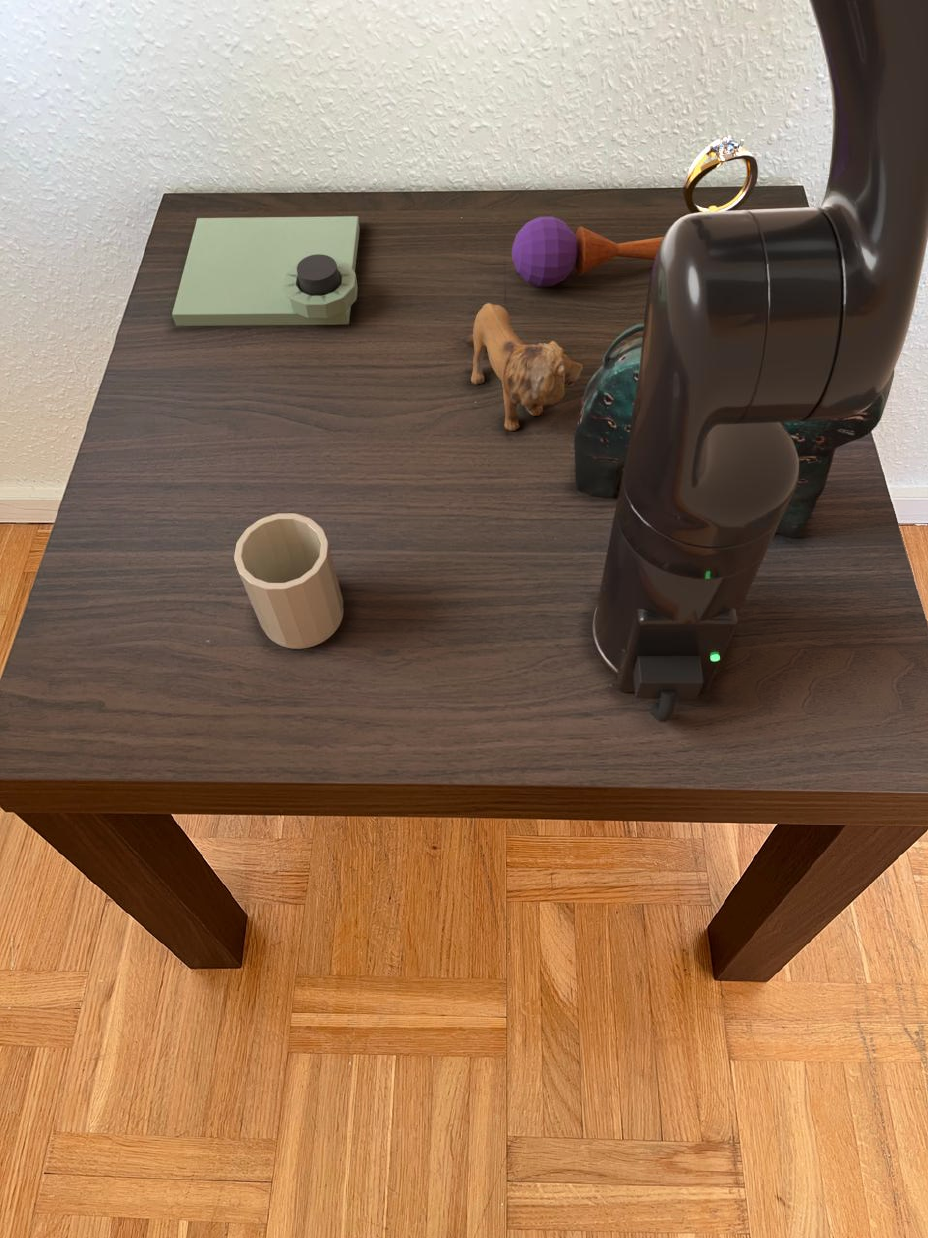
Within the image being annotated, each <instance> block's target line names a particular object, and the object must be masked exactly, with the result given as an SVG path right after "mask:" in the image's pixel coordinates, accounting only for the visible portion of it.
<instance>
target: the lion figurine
mask: <svg viewBox="0 0 928 1238" xmlns="http://www.w3.org/2000/svg"><path fill="white" fill-rule="evenodd" d="M474 319H475V320H474V322H473V328H472V334H471V335H466V336H463V337H461V338H460V341H461V342H462V343H463V344H464V345H469V344H472V343H473V350H474V355H473V358H472V362H473V364H472V373H471V377H470V381H471V383H472V384H473V385H476V386H478V385H480V384H484V383H485V375H484V372H483V355H484V353H485V351H486V350H487V356H488V359H489V363H490V365H491V368H492V370H493V371H494V373H495V375H496V377H498V379H499V380H500V381H501V385H502V394H503V403H504V413H505V414H504V415H505V417H504V428H505V429H506V430H507V431H510V432H515V431H517V430H518V429H519V428H520V423H519V415H518V413H517V406H518V404H519V405H522V406H523V407H525V410H526V411H527V412H528V413H529V414H530V415H531V416H534V417H537V416H540V415H541V414H542V413H543V411H544V409H543V408H544V406H546V405H554V404H556V403H559V402H560V400H562V398H563V397H564V396H565V394H566V392H565V387H566V386H567V387H572V386H573V385H574V384H575V382H576V381H577V380H579V378H580V376H581V372H582V371H583V370H584V369H583V367H584V366H583V365H582V364H581V363H580V362H575V361H573V360H571V359H570V357H569V356H568V355H566V354H565V353H564V349H563V348H562V346H560V345H558V342H557V341H555V340H552V341H550V342H549V343H543V342H542V343H540V342H538V344H534V343H532V344H526V343H523V341H522V340H521V339H520V337H518V335H517V334H516V333H515V332H514V330H513V329H512V326H511V325H512V324H511V317H510V314H509V312H508V311H507V309H505V308H504V307H503V306H502V305H500V304H493V303H490V302H488V303H485V304H483V306H482V308H481V309H480V310H479V311H478V313H477V314H476V316H475V318H474Z"/></svg>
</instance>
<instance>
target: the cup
mask: <svg viewBox="0 0 928 1238" xmlns="http://www.w3.org/2000/svg"><path fill="white" fill-rule="evenodd" d="M233 555H234V556H233V559H234V563H235V565H236V569H237V572H238V574H239V577H240V579H241V581H242V584H243V586H244V589H245V592H246V594H247V596H248V599H249V601H250V603H251V605H252V608H253V610H254V613H255V615H256V618H257V620H258V622H259V625H260V627H261V629H262V630H263V633H264V634H265V635H266V636H267V638H268V639H270V641H272V642H273V643H275V644H277V645H279V646H281V647H284V648H289V649H295V650H300V649H301V650H302V649H308V648H312V647H315V646H317V645H320V644H322V643H324V642H326V641H327V640H328V639H329V638H331V637H332V636H333V635H334V634H335V632H336V631H337V630H338V628H339V627H340V625H341V623H342V620H343V617H344V610H345V608H344V599H343V595H342V591H341V587H340V584H339V579H338V576H337V572H336V567H335V563H334V559H333V556H332V552H331V547H330V544H329V541H328V538H327V536H326V533H325V531H324V529H323V528H322V527H321V526H320V525H319V524H318V523H317V522H315V521H314V520H313V519H312V518H310V517H307V516H304V515H301V514H300V513H299V514H298V513H285V512H284V513H274V514H272V515H268V516H265V517H263V518H260V519H258V520H257V521H256V522H254V523H252V524H251V525H249V526H248V527H247V528H246V529H245V530H244V532H242V534H241V536H240V537H239V539H238V540H237V542H236V545H235V550H234V554H233Z"/></svg>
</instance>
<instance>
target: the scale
mask: <svg viewBox="0 0 928 1238" xmlns="http://www.w3.org/2000/svg"><path fill="white" fill-rule="evenodd" d="M360 229H361V227H360V219H359V216H358V215H357V216H356V215H355V216H353V215H352V216H351V215H350V216H347V215H345V216H343V215H342V216H278V217H277V216H272V217H271V216H270V217H268V216H265V217H263V216H261V217H197V218H196V222H195V226H194V230H193V233H192V237H191V240H190V245H189V249H188V252H187V256H186V260H185V263H184V268H183V271H182V275H181V279H180V283H179V287H178V291H177V294H176V298H175V302H174V305H173V309H172V313H171V315H172V318H173V321H174V324H175V326H176V327H190V326H191V327H193V326H196V327H199V326H200V327H202V326H205V327H207V326H208V327H209V326H211V327H212V326H311V325H312V326H313V325H314V326H317V325H318V326H319V325H321V326H323V325H324V326H325V325H327V326H328V325H330V326H331V325H333V326H334V325H349V323H350V316H351V308H352V305H353V304H354V303H355V302H356V301H357V298H358V288H359V287H358V281H357V274H356V265H357V257H358V256H357V255H358V248H359V239H360V232H361V231H360ZM316 254H322V255H327V256H330V257H331V258H333V259H334V260H335V262H336V264H337V269H338V275H339V286H338V287H337V289H336V290H335V291H334V292H331V293H329V294H326V295H323V296H311V295H308V294H306V293H304V292H303V291H302V289H301V288H300V284H299V279H298V274H297V265H298V263H299V262H300V261H301V260H302V259H304V258H305V257H308V256H311V255H316Z"/></svg>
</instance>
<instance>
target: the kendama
mask: <svg viewBox="0 0 928 1238" xmlns="http://www.w3.org/2000/svg"><path fill="white" fill-rule="evenodd" d="M663 238H664V236H660V237H653V238H647V239H641V240H633V241H626V242H621V243H616V242H614V241H613V240H610V239H608V238H606V237H604V236H602V235H599V234H598V233H596V232H594V231H591V230H589V229H587V228H585V227H583V226H579V227H578V228H577V230H576V233H575V232H574V231H573V230H572V229H571V228H570V227H569V226H568V224H567V223H566V222H565V221H563V220H561V219H558V218H557V217H555V216H553V215H552V216H538V217H535V218H533V219H532V220H530V221H528V222H526V223H525V224H524V226H522V227H521V229H520V230H519V231H518V232H517V233H516V235H515V238H514V240H513V244H512V247H511V258H512V261H513V264H514V267H515V271H516V273H518V275H520V276H521V278H522V279H523V280H524V281H525V282H526V283H529V284H531V285H533V286H535V287H538V288H543V287H552V286H554V285H557V284H559V283H561V282H563V281H564V280H566V279H567V278H568V277H569V275H570V274H571V273H572V272H574V270H575V271H576V274H577V275H578V276H582V275H583V274H585V273H587V272H588V271H591V270H593V269H595V268H597V267H599V266H601V265H603V264H604V263H607V262H608V261H611V260H612V259H614V258H616V257H618V258H628V259H637V260H638V259H639V260H650V261H654V260H655V256H656V254H657V251H658V249H659V246H660V244H661V241H662V239H663ZM574 268H575V269H574Z"/></svg>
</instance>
